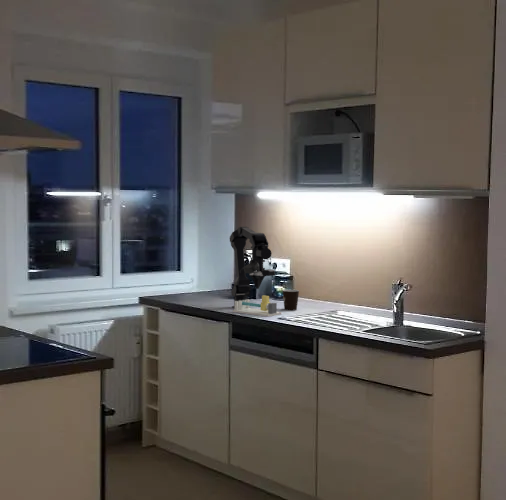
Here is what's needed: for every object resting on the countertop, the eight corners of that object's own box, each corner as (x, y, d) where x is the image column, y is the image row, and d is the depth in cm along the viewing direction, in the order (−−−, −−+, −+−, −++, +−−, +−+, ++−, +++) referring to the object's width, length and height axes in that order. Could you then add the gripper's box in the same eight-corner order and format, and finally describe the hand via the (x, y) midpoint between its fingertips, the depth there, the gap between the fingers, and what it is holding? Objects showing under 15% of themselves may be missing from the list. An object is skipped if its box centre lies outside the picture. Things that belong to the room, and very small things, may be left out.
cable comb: (232, 311, 411) (232, 301, 410) (246, 309, 419) (247, 299, 419) (267, 316, 396) (267, 305, 395) (281, 314, 404) (281, 303, 404)
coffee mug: (297, 311, 416) (297, 291, 415) (281, 310, 418) (281, 291, 417) (300, 307, 427) (300, 289, 426) (284, 307, 429) (284, 288, 428)
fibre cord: (238, 309, 413) (238, 299, 413) (242, 308, 416) (243, 298, 415) (271, 313, 399) (272, 303, 398) (276, 313, 402) (276, 303, 401)
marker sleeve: (260, 310, 403) (260, 296, 403) (265, 309, 406) (265, 295, 406) (265, 311, 401) (265, 296, 401) (270, 310, 404) (270, 295, 404)
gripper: (233, 257, 405) (232, 288, 406) (261, 259, 393) (261, 291, 394) (247, 256, 414) (247, 286, 415) (275, 258, 402) (275, 289, 403)
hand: (257, 288), depth 406 cm, fingers closed
